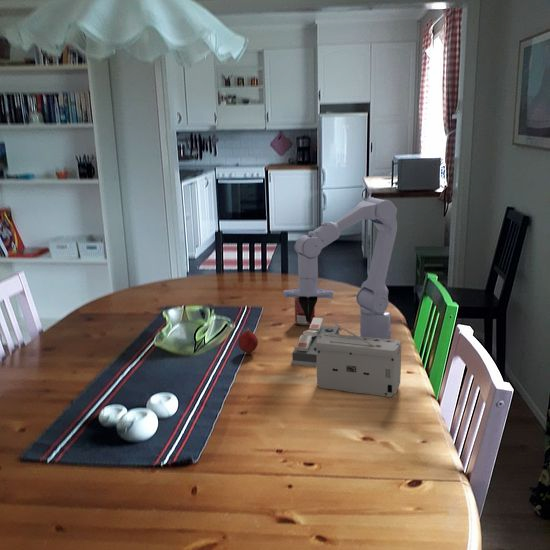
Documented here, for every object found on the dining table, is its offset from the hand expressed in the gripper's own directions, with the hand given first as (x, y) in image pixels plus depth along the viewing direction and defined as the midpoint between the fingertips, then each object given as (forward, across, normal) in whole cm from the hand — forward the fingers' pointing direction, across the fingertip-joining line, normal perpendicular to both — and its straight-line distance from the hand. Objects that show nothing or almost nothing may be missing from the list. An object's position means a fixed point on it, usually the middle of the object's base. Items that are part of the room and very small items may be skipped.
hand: (308, 320), depth 167 cm
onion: (+10, +18, +4) cm, 21 cm away
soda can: (+10, +3, -24) cm, 26 cm away
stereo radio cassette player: (+10, -14, +25) cm, 30 cm away
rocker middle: (+5, 0, -2) cm, 5 cm away
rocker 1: (+5, +1, +6) cm, 8 cm away
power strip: (+9, -2, -2) cm, 10 cm away
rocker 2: (+5, -2, -10) cm, 11 cm away
